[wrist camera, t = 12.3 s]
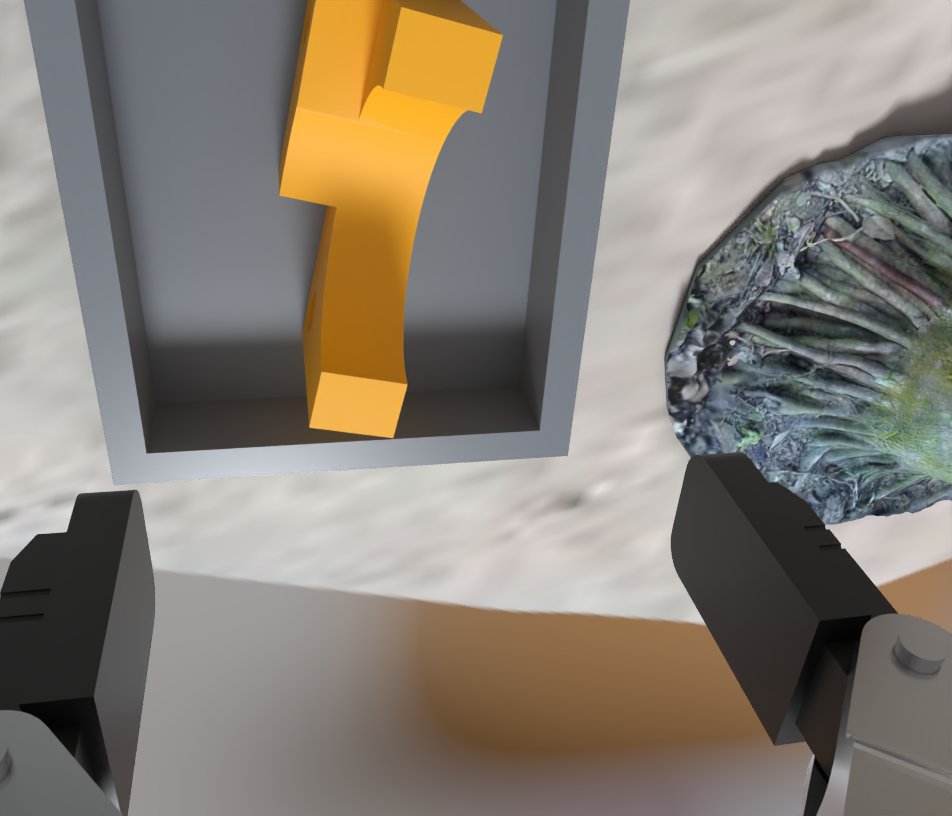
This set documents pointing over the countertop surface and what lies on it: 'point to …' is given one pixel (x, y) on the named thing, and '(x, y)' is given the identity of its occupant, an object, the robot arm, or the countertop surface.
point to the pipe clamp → (372, 181)
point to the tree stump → (830, 334)
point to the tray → (317, 236)
